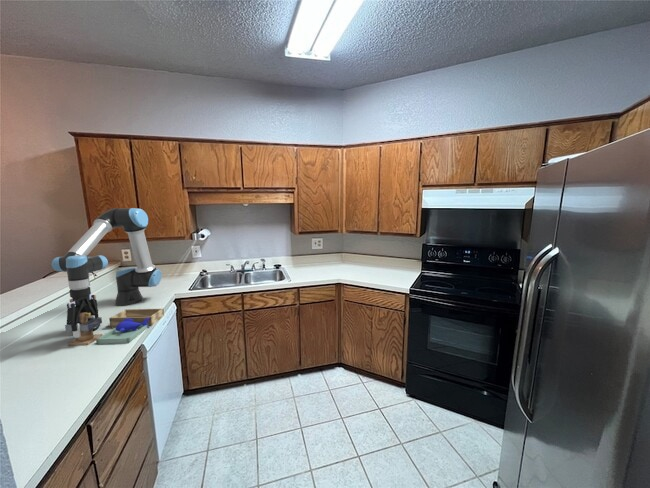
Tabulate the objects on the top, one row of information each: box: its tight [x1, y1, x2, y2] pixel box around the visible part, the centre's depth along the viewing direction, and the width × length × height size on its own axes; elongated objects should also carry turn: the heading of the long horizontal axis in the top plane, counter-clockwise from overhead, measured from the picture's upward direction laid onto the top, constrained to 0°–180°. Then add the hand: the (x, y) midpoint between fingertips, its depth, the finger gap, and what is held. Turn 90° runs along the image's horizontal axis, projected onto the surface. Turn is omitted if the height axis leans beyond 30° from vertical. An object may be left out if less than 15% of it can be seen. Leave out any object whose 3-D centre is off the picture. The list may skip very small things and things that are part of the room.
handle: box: [68, 312, 103, 346], centre depth 134 cm, size 9×9×14 cm
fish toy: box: [116, 317, 150, 331], centre depth 144 cm, size 15×8×7 cm, turn 117°
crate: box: [109, 308, 165, 329], centre depth 155 cm, size 13×22×6 cm, turn 93°
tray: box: [95, 325, 148, 345], centre depth 140 cm, size 16×15×2 cm
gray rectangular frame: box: [64, 316, 103, 332], centre depth 134 cm, size 9×12×3 cm
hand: (85, 332), depth 134 cm, fingers closed on gray rectangular frame, 9 cm apart
